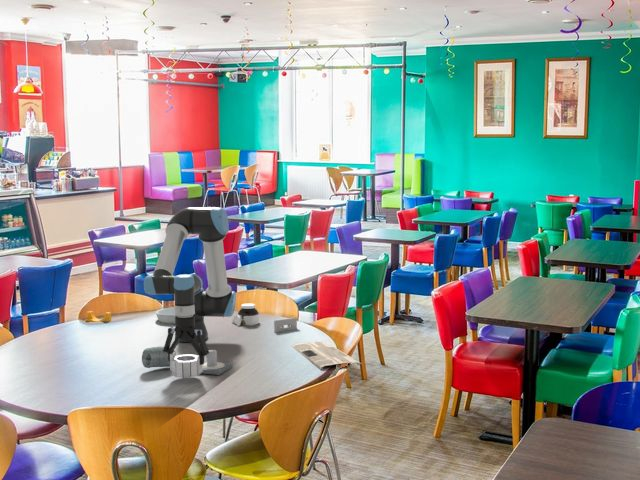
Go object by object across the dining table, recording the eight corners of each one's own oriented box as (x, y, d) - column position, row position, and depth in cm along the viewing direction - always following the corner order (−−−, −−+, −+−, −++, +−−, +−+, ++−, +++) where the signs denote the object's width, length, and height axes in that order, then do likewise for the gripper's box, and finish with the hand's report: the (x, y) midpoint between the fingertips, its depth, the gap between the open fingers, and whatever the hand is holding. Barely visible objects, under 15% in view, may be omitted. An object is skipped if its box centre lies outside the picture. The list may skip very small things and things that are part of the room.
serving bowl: (178, 317, 402) (177, 305, 401) (206, 322, 390) (206, 309, 389) (147, 325, 385) (147, 311, 384) (176, 330, 373) (176, 316, 372)
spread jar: (261, 327, 379) (261, 304, 378) (247, 332, 369) (246, 308, 368) (242, 324, 385) (241, 302, 384) (227, 329, 376) (227, 305, 375)
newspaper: (291, 350, 338) (291, 343, 337) (332, 346, 344) (332, 340, 344) (320, 372, 303) (320, 365, 303) (365, 367, 310) (365, 360, 310)
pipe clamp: (85, 325, 385) (85, 312, 385) (90, 323, 389) (89, 311, 389) (107, 326, 383) (106, 313, 382) (111, 324, 387) (111, 312, 386)
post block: (191, 372, 302) (191, 353, 301) (205, 364, 313) (205, 346, 312) (219, 375, 298) (218, 356, 297) (232, 366, 309) (231, 348, 308)
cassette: (295, 332, 368) (295, 317, 367) (297, 333, 366) (297, 317, 365) (273, 336, 361) (273, 320, 361) (275, 336, 360) (275, 320, 359)
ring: (166, 376, 290) (166, 360, 290) (180, 368, 301) (180, 353, 300) (192, 378, 287) (192, 363, 286) (205, 370, 297) (205, 355, 296)
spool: (142, 368, 298) (151, 344, 299) (135, 362, 306) (143, 339, 307) (174, 376, 305) (182, 352, 306) (165, 370, 313) (173, 347, 314)
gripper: (152, 315, 291) (154, 371, 294) (208, 319, 284) (209, 376, 286) (162, 311, 298) (164, 365, 301) (217, 315, 291) (218, 371, 293)
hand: (186, 371), depth 294 cm, fingers closed on ring, 11 cm apart
